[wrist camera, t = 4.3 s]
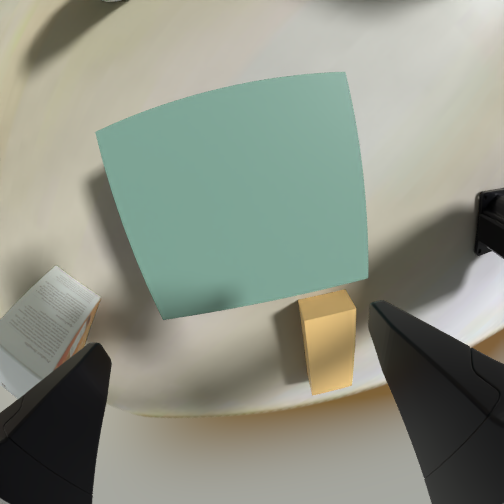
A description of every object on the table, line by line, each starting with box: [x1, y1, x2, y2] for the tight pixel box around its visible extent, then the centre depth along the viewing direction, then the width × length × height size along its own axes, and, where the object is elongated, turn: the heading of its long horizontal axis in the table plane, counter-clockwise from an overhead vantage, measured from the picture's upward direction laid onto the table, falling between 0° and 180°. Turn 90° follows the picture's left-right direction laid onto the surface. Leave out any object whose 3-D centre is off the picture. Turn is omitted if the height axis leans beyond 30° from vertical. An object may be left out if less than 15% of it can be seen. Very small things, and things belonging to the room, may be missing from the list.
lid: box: [96, 72, 368, 320], centre depth 12 cm, size 11×10×1 cm
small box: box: [0, 266, 101, 399], centre depth 17 cm, size 8×6×10 cm
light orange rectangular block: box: [298, 289, 356, 395], centre depth 22 cm, size 4×10×3 cm, turn 12°
